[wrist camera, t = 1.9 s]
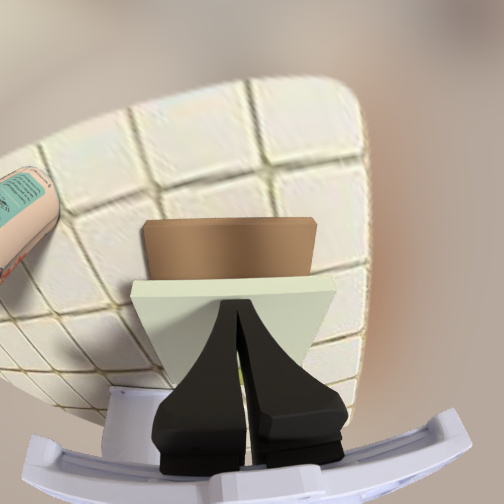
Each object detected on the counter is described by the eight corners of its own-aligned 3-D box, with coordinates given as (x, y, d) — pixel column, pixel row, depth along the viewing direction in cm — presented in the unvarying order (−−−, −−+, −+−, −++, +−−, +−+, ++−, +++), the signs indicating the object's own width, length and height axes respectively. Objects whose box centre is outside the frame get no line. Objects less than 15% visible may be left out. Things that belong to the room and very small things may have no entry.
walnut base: (175, 369, 23) (174, 378, 22) (146, 220, 16) (143, 227, 16) (288, 365, 24) (290, 373, 23) (312, 217, 17) (317, 223, 17)
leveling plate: (173, 374, 22) (173, 398, 21) (133, 280, 13) (126, 317, 12) (291, 369, 23) (295, 393, 22) (331, 274, 15) (343, 309, 13)
